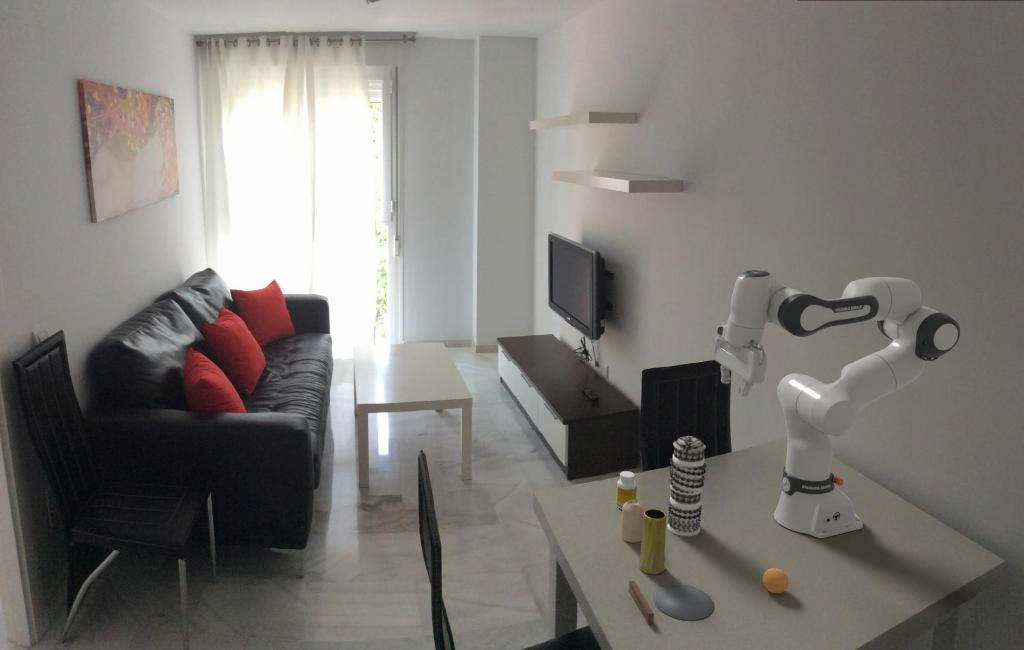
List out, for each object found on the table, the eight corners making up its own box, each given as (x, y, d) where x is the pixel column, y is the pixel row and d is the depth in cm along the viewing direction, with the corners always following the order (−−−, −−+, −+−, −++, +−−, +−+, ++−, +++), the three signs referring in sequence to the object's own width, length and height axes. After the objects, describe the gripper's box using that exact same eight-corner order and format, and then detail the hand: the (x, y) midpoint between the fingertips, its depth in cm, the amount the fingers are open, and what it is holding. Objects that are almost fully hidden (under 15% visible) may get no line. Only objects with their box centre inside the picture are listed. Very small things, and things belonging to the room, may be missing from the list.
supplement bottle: (636, 511, 206) (638, 478, 203) (617, 510, 206) (618, 478, 203) (634, 501, 211) (635, 470, 209) (615, 501, 211) (616, 469, 209)
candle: (642, 544, 189) (644, 508, 187) (620, 541, 190) (622, 506, 188) (643, 533, 195) (645, 498, 192) (621, 530, 196) (623, 495, 193)
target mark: (698, 581, 174) (698, 581, 174) (724, 616, 161) (724, 615, 161) (645, 587, 171) (645, 587, 171) (667, 623, 159) (667, 622, 159)
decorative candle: (674, 538, 192) (680, 448, 186) (660, 521, 201) (665, 434, 194) (707, 535, 194) (714, 445, 187) (691, 517, 202) (698, 431, 196)
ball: (779, 582, 173) (781, 561, 172) (791, 597, 168) (794, 575, 167) (757, 585, 172) (759, 564, 171) (769, 599, 167) (771, 578, 166)
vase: (636, 561, 182) (639, 507, 178) (660, 560, 182) (664, 507, 179) (642, 575, 176) (645, 520, 172) (667, 574, 177) (671, 519, 173)
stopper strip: (633, 590, 170) (634, 580, 170) (653, 623, 159) (654, 613, 158) (628, 591, 170) (629, 581, 169) (648, 624, 159) (648, 614, 158)
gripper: (777, 348, 175) (766, 404, 178) (735, 326, 194) (726, 376, 197) (753, 346, 173) (742, 403, 177) (713, 324, 193) (704, 375, 196)
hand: (733, 389), depth 187 cm, fingers open, 8 cm apart
